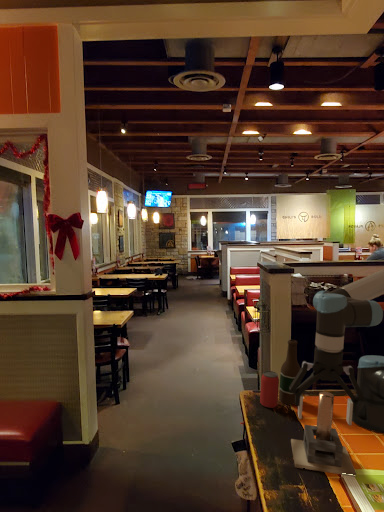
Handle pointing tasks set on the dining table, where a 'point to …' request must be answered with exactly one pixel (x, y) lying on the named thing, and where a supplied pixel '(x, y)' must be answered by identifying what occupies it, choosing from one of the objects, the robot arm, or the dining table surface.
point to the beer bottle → (289, 374)
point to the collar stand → (330, 463)
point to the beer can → (269, 389)
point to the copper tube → (324, 418)
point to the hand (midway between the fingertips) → (323, 419)
